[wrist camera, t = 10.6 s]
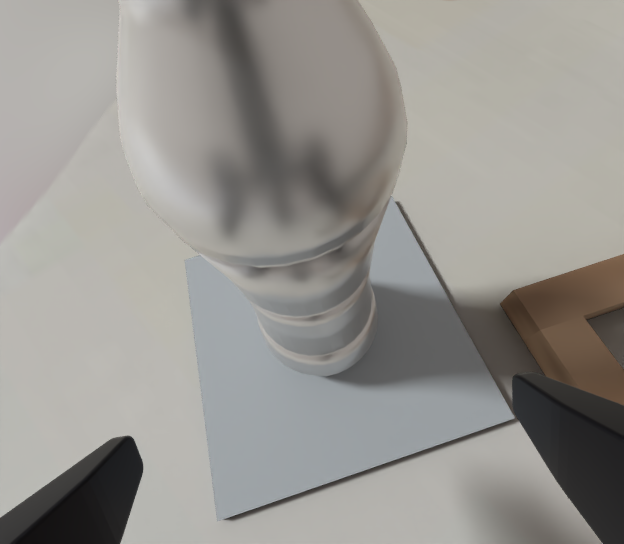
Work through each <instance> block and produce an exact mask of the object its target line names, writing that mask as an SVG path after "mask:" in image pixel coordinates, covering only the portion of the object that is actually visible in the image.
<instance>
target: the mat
mask: <svg viewBox="0 0 624 544" xmlns="http://www.w3.org/2000/svg"><path fill="white" fill-rule="evenodd" d="M185 267H186V275H187V283H188V291H189V299H190V307H191V315H192V323H193V331H194V339H195V347H196V355H197V363H198V371H199V379H200V387H201V395H202V403H203V411H204V419H205V427H206V435H207V443H208V451H209V459H210V467H211V475H212V483H213V491H214V499H215V507H216V515H217V521H220V520H223V519H226V518H229V517H232V516H234V515H237V514H240V513H243V512H246V511H249V510H252V509H255V508H258V507H260V506H263V505H266V504H269V503H272V502H275V501H278V500H281V499H283V498H286V497H289V496H292V495H295V494H298V493H301V492H304V491H307V490H309V489H312V488H315V487H318V486H321V485H324V484H327V483H330V482H333V481H335V480H338V479H341V478H344V477H347V476H350V475H353V474H356V473H359V472H361V471H364V470H367V469H370V468H373V467H376V466H379V465H382V464H384V463H387V462H390V461H393V460H396V459H399V458H402V457H405V456H408V455H410V454H413V453H416V452H419V451H422V450H425V449H428V448H431V447H434V446H436V445H439V444H442V443H445V442H448V441H451V440H454V439H457V438H459V437H462V436H465V435H468V434H471V433H474V432H477V431H480V430H483V429H485V428H488V427H491V426H494V425H497V424H500V423H503V422H506V421H509V420H511V419H514V418H515V417H514V415H513V414H512V412H511V410H510V408H509V406H508V405H507V403H506V401H505V399H504V397H503V396H502V394H501V392H500V390H499V388H498V387H497V385H496V383H495V381H494V379H493V378H492V376H491V374H490V372H489V370H488V369H487V367H486V365H485V363H484V361H483V360H482V358H481V356H480V354H479V352H478V351H477V349H476V347H475V345H474V343H473V342H472V340H471V338H470V336H469V334H468V333H467V331H466V329H465V327H464V325H463V324H462V322H461V320H460V318H459V316H458V315H457V313H456V311H455V309H454V307H453V306H452V304H451V302H450V300H449V298H448V297H447V295H446V293H445V291H444V289H443V288H442V286H441V284H440V282H439V280H438V279H437V277H436V275H435V273H434V271H433V270H432V268H431V266H430V264H429V262H428V260H427V259H426V257H425V255H424V253H423V251H422V250H421V248H420V246H419V244H418V242H417V241H416V239H415V237H414V235H413V233H412V232H411V230H410V228H409V226H408V224H407V223H406V221H405V219H404V217H403V215H402V214H401V212H400V210H399V208H398V206H397V205H396V203H395V201H394V199H393V197H392V196H391V198H390V201H389V204H388V206H387V209H386V212H385V215H384V217H383V220H382V223H381V226H380V228H379V231H378V234H377V237H376V240H375V244H374V250H373V255H372V261H371V265H370V282H371V287H372V290H373V293H374V296H375V300H376V306H377V313H378V323H377V330H376V334H375V337H374V340H373V342H372V344H371V346H370V348H369V349H368V351H367V352H366V353H365V354H364V355H363V357H362V358H361V359H360V360H359V361H358V362H356V363H355V364H354V365H353V366H351V367H350V368H349V369H347V370H344V371H342V372H340V373H337V374H333V375H329V376H314V375H309V374H304V373H300V372H298V371H295V370H293V369H290V368H289V367H287V366H286V365H284V364H283V363H281V362H280V361H279V360H278V359H277V358H276V357H275V356H274V355H273V354H272V352H271V351H270V349H269V348H268V346H267V345H266V343H265V340H264V337H263V335H262V332H261V330H260V327H259V324H258V318H257V315H256V313H255V311H254V309H253V307H252V305H251V303H250V301H249V300H248V299H247V298H246V297H245V295H244V294H243V293H242V292H241V291H240V290H239V289H238V288H237V287H236V286H235V284H234V283H233V282H232V281H231V280H230V279H229V278H228V277H226V276H225V275H224V274H223V273H222V272H220V271H219V270H218V269H217V268H215V267H214V266H213V265H212V264H210V263H209V262H208V261H207V260H206V259H204V258H203V257H202V256H201V255H199V256H196V257H193V258H189V259H186V260H185Z"/></svg>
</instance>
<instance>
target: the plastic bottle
mask: <svg viewBox="0 0 624 544" xmlns="http://www.w3.org/2000/svg"><path fill="white" fill-rule="evenodd" d="M118 3H119V5H120V14H119V35H118V55H117V76H116V88H117V103H118V118H119V133H120V138H121V143H122V148H123V152H124V155H125V157H126V160H127V163H128V165H129V168H130V170H131V173H132V175H133V178H134V180H135V183H136V186H137V188H138V190H139V192H140V194H141V195H142V197H143V199H144V201H145V202H146V204H147V206H148V207H149V208H150V209H151V210H152V211H153V212H154V213H155V214H156V215H157V216H158V217H159V218H160V219H161V220H162V221H163V222H164V223H165V224H166V225H167V226H168V227H169V228H170V229H171V230H172V231H173V232H174V233H175V234H176V235H177V236H178V237H179V238H180V239H181V240H182V241H183V242H184V243H186V244H187V245H189V246H190V247H191V248H192V249H193V250H195V251H196V252H197V253H198V254H199V255H201V256H202V257H203V258H204V259H206V260H207V261H208V262H209V263H210V264H212V265H213V266H214V267H215V268H217V269H218V270H219V271H220V272H222V273H223V274H224V275H225V276H226V277H228V278H229V279H230V280H231V281H232V282H233V283H234V284H235V286H236V287H237V288H238V289H239V290H240V291H241V292H242V293H243V294H244V295H245V297H246V298H247V299H248V300H249V301H250V303H251V305H252V307H253V309H254V311H255V313H256V315H257V318H258V324H259V327H260V330H261V332H262V335H263V337H264V340H265V343H266V345H267V346H268V348H269V349H270V351H271V352H272V354H273V355H274V356H275V357H276V358H277V359H278V360H279V361H280V362H281V363H283V364H284V365H286V366H287V367H289V368H290V369H293V370H295V371H298V372H300V373H304V374H309V375H314V376H329V375H333V374H337V373H340V372H342V371H344V370H347V369H349V368H350V367H351V366H353V365H354V364H355V363H356V362H358V361H359V360H360V359H361V358H362V357H363V355H364V354H365V353H366V352H367V351H368V349H369V348H370V346H371V344H372V342H373V340H374V337H375V334H376V330H377V323H378V313H377V306H376V300H375V296H374V293H373V290H372V287H371V282H370V265H371V261H372V255H373V250H374V244H375V240H376V237H377V234H378V231H379V228H380V226H381V223H382V220H383V217H384V215H385V212H386V209H387V206H388V204H389V201H390V198H391V195H392V193H393V190H394V187H395V184H396V181H397V178H398V175H399V172H400V168H401V163H402V159H403V155H404V151H405V148H406V144H407V117H406V112H405V106H404V101H403V95H402V89H401V84H400V80H399V76H398V73H397V69H396V66H395V64H394V62H393V60H392V59H391V57H390V55H389V53H388V51H387V49H386V47H385V46H384V44H383V42H382V40H381V38H380V36H379V34H378V32H377V31H376V29H375V27H374V25H373V23H372V21H371V20H370V18H369V17H368V15H367V13H366V12H365V10H364V9H363V7H362V6H361V4H360V3H359V2H358V0H118Z"/></svg>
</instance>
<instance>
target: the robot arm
mask: <svg viewBox="0 0 624 544" xmlns="http://www.w3.org/2000/svg"><path fill="white" fill-rule="evenodd" d="M512 403H513V409H514V412H515V414H516V416H517V418H518V420H519V421H520V423H521V425H522V426H523V428H524V429H525V431H526V433H527V434H528V436H529V438H530V439H531V441H532V442H533V444H534V446H535V447H536V449H537V451H538V452H539V454H540V455H541V457H542V459H543V460H544V462H545V464H546V465H547V467H548V468H549V470H550V472H551V473H552V475H553V476H554V478H555V479H556V481H557V482H558V484H559V485H560V487H561V488H562V489H563V491H564V492H565V494H566V495H567V496H568V498H569V499H570V500H571V502H572V503H573V504H574V506H575V507H576V508H577V510H578V511H579V512H580V514H581V515H582V516H583V518H584V519H585V520H586V522H587V523H588V524H589V526H590V527H591V528H592V530H593V531H594V532H595V534H596V535H597V536H598V538H599V539H600V540H601V542H602V543H603V544H624V405H622V404H619V403H617V402H614V401H611V400H608V399H606V398H603V397H600V396H598V395H595V394H592V393H589V392H587V391H584V390H581V389H579V388H576V387H573V386H570V385H568V384H565V383H562V382H560V381H557V380H554V379H551V378H549V377H546V376H543V375H541V374H538V373H535V372H526V373H520V374H516V375H514V376H513V380H512ZM142 473H143V462H142V459H141V456H140V454H139V451H138V449H137V446H136V443H135V441H134V439H133V438H132V437H131V436H122V437H116V438H112V439H110V440H109V441H108V442H106V443H105V444H103V445H102V446H100V447H99V448H98V449H96V450H95V451H93V452H92V453H91V454H89V455H88V456H86V457H85V458H84V459H82V460H81V461H79V462H78V463H77V464H75V465H74V466H72V467H71V468H70V469H68V470H67V471H65V472H64V473H63V474H61V475H60V476H58V477H57V478H56V479H54V480H53V481H51V482H50V483H49V484H47V485H46V486H44V487H43V488H41V489H40V490H39V491H37V492H36V493H34V494H33V495H32V496H30V497H29V498H27V499H26V500H25V501H23V502H22V503H20V504H19V505H18V506H16V507H15V508H13V509H12V510H11V511H9V512H8V513H6V514H5V515H4V516H2V517H1V518H0V544H120V542H121V540H122V537H123V534H124V531H125V528H126V524H127V521H128V518H129V515H130V512H131V509H132V505H133V502H134V499H135V496H136V493H137V490H138V487H139V483H140V480H141V477H142Z"/></svg>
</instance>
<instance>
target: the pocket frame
mask: <svg viewBox="0 0 624 544" xmlns="http://www.w3.org/2000/svg"><path fill="white" fill-rule="evenodd" d="M500 305H501V306H502V308H503V309H504V311H505V313H506V314H507V316H508V317H509V319H510V320H511V322H512V324H513V325H514V327H515V328H516V330H517V331H518V333H519V335H520V336H521V338H522V339H523V341H524V343H525V344H526V346H527V347H528V349H529V350H530V352H531V354H532V355H533V357H534V358H535V360H536V361H537V363H538V365H539V366H540V368H541V369H542V371H543V372H544V374H545V376H546V377H549V378H551V379H554V380H557V381H560V382H562V383H565V384H568V385H570V386H573V387H576V388H579V389H581V390H584V391H587V392H589V393H592V394H595V395H598V396H600V397H603V398H606V399H608V400H611V401H614V402H617V403H619V404H622V405H624V369H623V368H622V367H621V366H620V364H619V363H618V362H617V360H616V359H615V358H614V356H613V355H612V354H611V352H610V351H609V350H608V348H607V347H606V346H605V344H604V343H603V342H602V340H601V339H600V338H599V336H598V335H597V334H596V332H595V331H594V330H593V329H592V327H591V326H590V325H589V323H588V322H587V321H586V320H587V319H590V318H593V317H596V316H599V315H602V314H605V313H608V312H611V311H614V310H617V309H620V308H623V307H624V254H623V255H620V256H616V257H613V258H610V259H607V260H604V261H601V262H598V263H595V264H592V265H589V266H586V267H583V268H580V269H577V270H574V271H571V272H568V273H565V274H562V275H559V276H555V277H552V278H549V279H546V280H543V281H540V282H537V283H534V284H531V285H528V286H525V287H522V288H519V289H516V290H513V291H512V292H511V293H510V294H509V295H508V296H507V297H506V298H505V299H504V300H503V301H502V302H501V303H500Z"/></svg>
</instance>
